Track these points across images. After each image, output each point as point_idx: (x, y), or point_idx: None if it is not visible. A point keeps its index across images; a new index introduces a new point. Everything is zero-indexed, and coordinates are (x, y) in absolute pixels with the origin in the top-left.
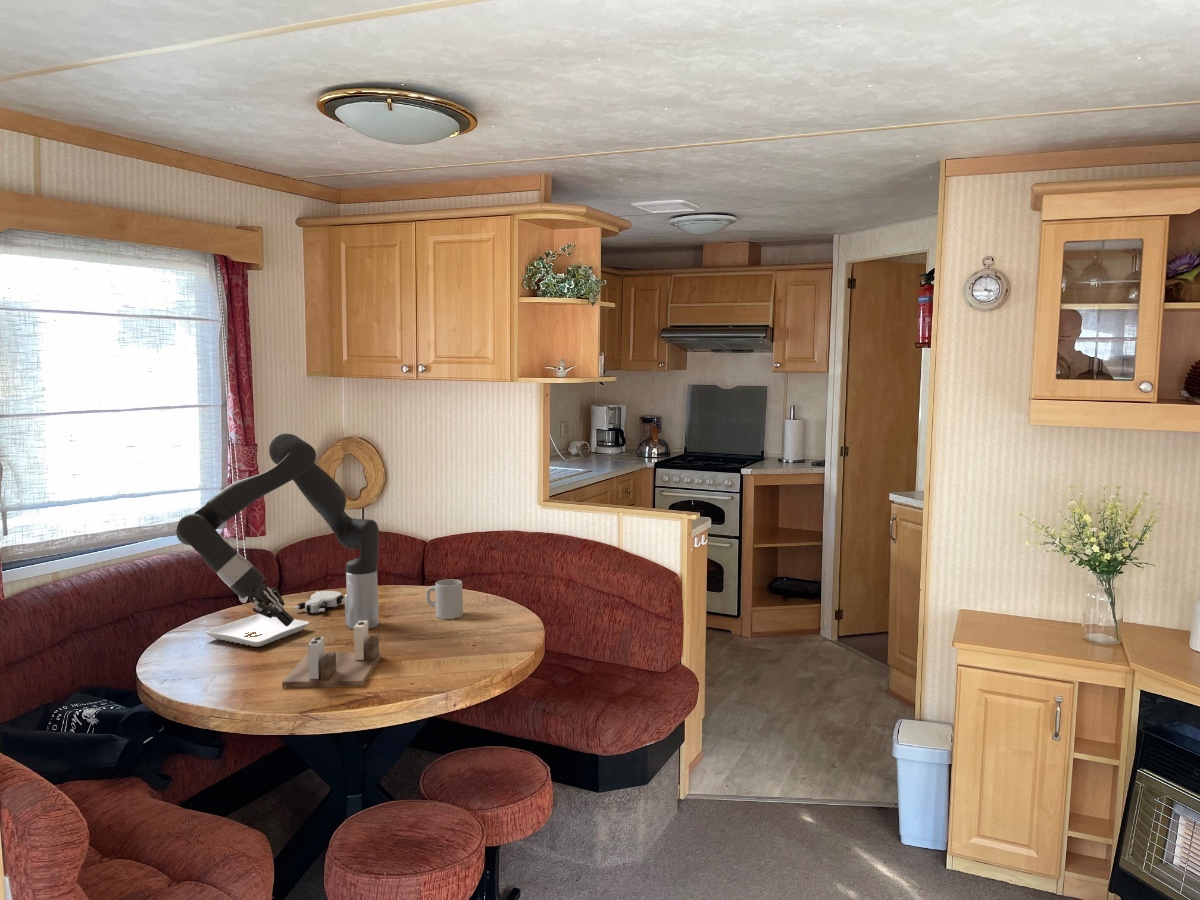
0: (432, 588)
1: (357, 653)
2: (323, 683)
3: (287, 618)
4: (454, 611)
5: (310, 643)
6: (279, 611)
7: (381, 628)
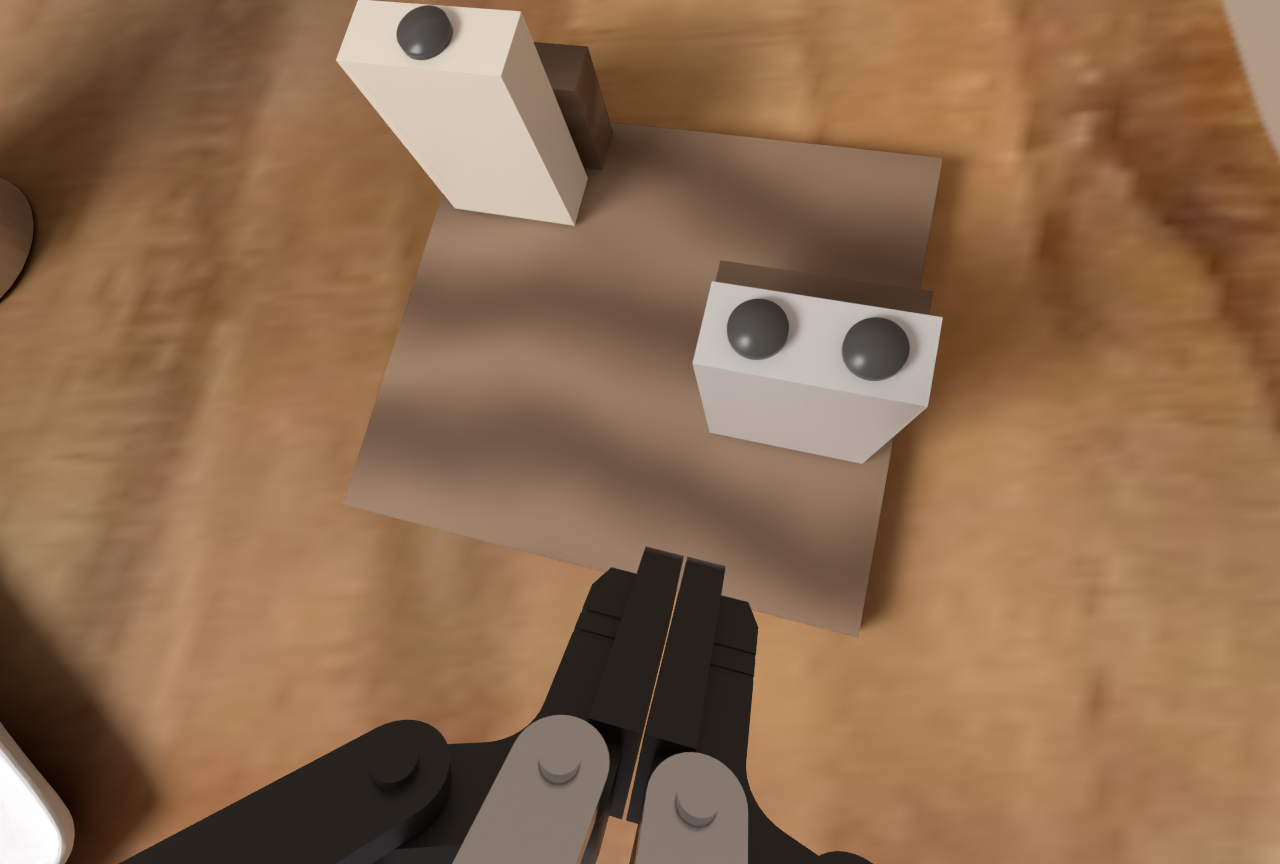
0: None
1: (567, 187)
2: None
3: (715, 633)
4: None
5: (893, 384)
6: (737, 809)
7: (48, 162)
